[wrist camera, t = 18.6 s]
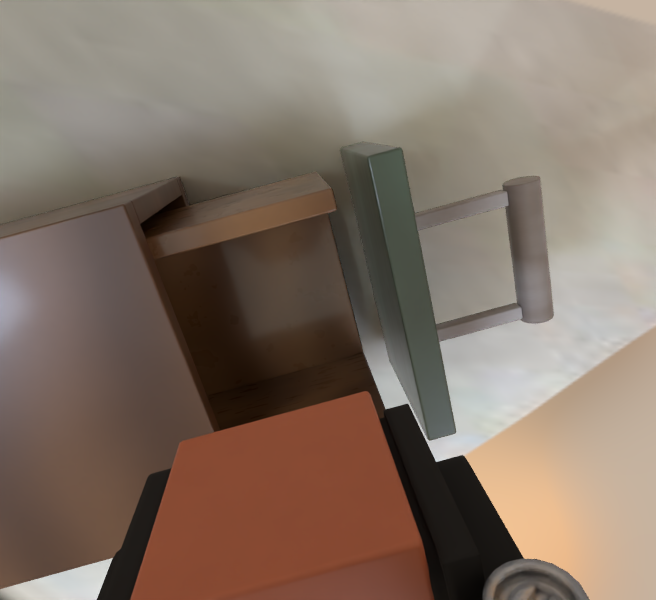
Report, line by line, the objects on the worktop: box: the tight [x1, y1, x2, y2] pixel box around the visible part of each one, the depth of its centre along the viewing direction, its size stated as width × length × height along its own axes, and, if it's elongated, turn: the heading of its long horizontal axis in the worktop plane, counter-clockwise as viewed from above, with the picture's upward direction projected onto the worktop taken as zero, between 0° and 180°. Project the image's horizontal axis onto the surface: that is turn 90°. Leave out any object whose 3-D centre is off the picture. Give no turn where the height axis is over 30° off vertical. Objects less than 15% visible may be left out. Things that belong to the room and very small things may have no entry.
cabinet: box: [0, 177, 220, 589], centre depth 21 cm, size 15×13×9 cm
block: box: [130, 391, 434, 600], centre depth 9 cm, size 4×4×4 cm
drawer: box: [140, 142, 554, 440], centre depth 21 cm, size 19×11×7 cm, turn 104°
